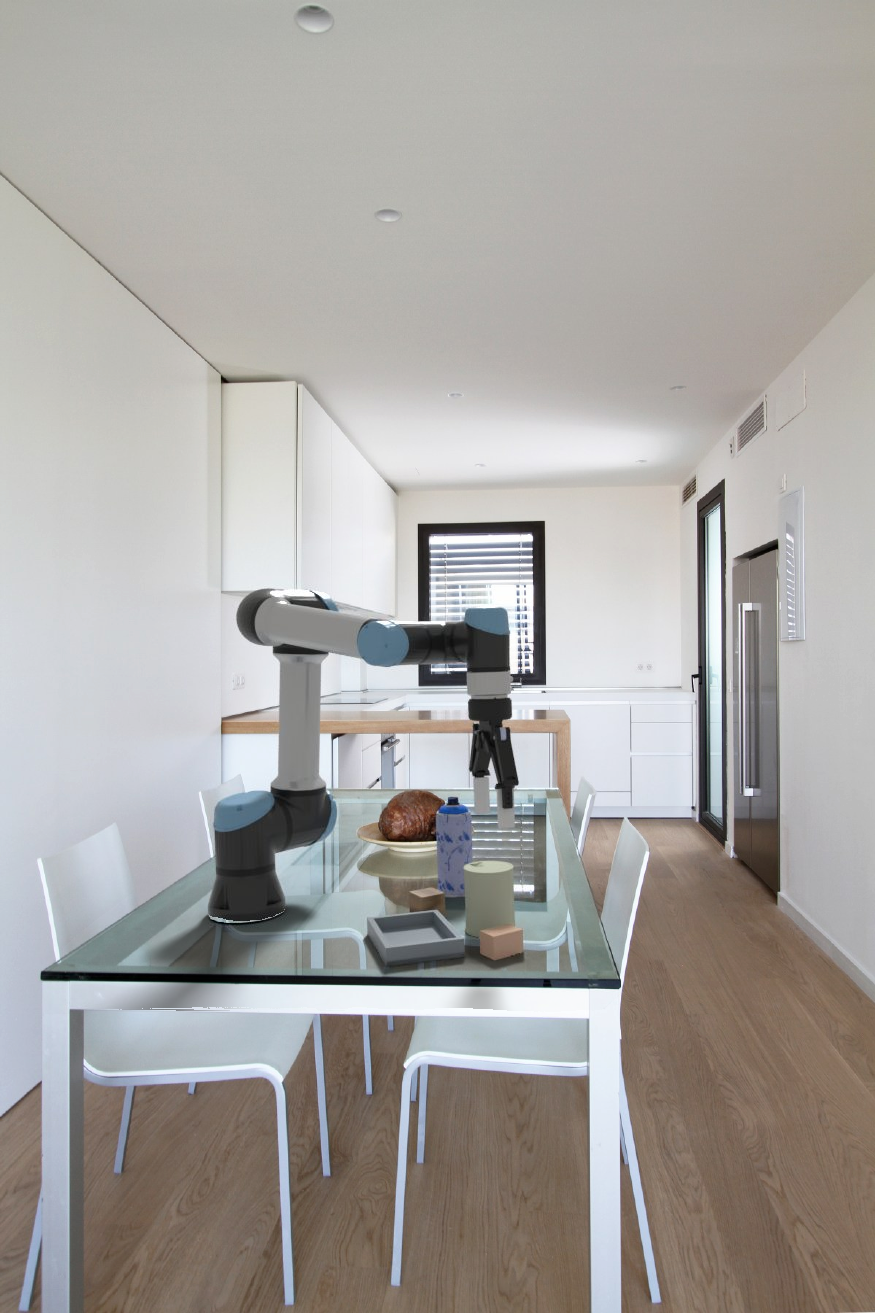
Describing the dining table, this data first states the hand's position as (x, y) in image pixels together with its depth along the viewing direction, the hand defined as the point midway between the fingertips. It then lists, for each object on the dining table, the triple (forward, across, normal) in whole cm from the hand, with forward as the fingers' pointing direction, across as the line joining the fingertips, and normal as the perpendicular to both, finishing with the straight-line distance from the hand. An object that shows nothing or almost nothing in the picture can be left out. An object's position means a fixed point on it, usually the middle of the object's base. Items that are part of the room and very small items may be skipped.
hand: (493, 820), depth 147 cm
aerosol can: (+22, +34, -2) cm, 40 cm away
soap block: (+22, -4, +1) cm, 22 cm away
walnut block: (+21, +19, +8) cm, 30 cm away
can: (+22, +8, -1) cm, 23 cm away
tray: (+21, +5, +14) cm, 26 cm away
